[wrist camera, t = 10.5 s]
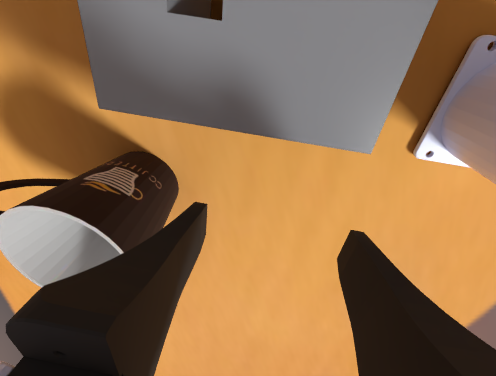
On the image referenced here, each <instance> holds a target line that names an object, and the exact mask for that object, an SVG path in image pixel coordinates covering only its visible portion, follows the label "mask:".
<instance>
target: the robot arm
mask: <svg viewBox="0 0 496 376" xmlns="http://www.w3.org/2000/svg"><path fill="white" fill-rule="evenodd" d="M491 42H493V46H492V48H491V49H490V50H488V49H487V47H488V45H489V44H490V43H491ZM429 151H431V153H430V154H429V155H426V153H427V152H429ZM413 154H414V156H415V157H416V158H418V159H423V160H429V161H435V162H440V163H446V164H452V165H458V166H464V167H470V168H472V169H474V170H475V171H477V172H478V173H480V174H481V175H483V176H484V177H486V178H487V179H489V180H490V181H492V182H493V183H495V184H496V36H493V35H481V36H479V37H477V38H476V39H475V40H474V41H473V42H472V44H471V46H470V47H469V49H468V51H467V53H466V55H465V57H464V59H463V60H462V62H461V64H460V66H459V68H458V70H457V71H456V73H455V75H454V77H453V79H452V81H451V83H450V84H449V86H448V88H447V90H446V92H445V94H444V96H443V97H442V99H441V101H440V103H439V105H438V107H437V109H436V110H435V112H434V114H433V116H432V118H431V120H430V122H429V123H428V125H427V127H426V129H425V131H424V133H423V135H422V136H421V138H420V140H419V142H418V144H417V146H416V147H415V149H414V152H413ZM206 221H207V204H204V203H199V202H195V203H193V204H192V205H191V206H190V207H189V208H187V209H186V210H185V211H184V212H183V213H182V214H180V215H179V216H178V217H177V218H176V219H174V220H173V221H172V222H170V223H169V224H168V225H167V226H165V227H164V228H163V229H161V230H160V231H158V232H157V233H156V234H154V235H153V236H151V237H150V238H148V239H147V240H145V241H144V242H142V243H140V244H139V245H137V246H135V247H134V248H132V249H130V250H128V251H126V252H124V253H122V254H120V255H118V256H116V257H114V258H113V259H111V260H108V261H106V262H104V263H102V264H100V265H97V266H95V267H93V268H90V269H88V270H85V271H83V272H80V273H78V274H75V275H72V276H70V277H67V278H64V279H61V280H58V281H56V282H53V283H50V284H47V285H44V286H43V287H42V288H41V289H40V290H39V291H38V292H37V293H36V294H35V295H33V296H32V297H31V299H30V300H29V301H28V302H27V303H26V304H25V305H24V306H23V307H22V308H21V309H20V310H19V311H18V312H17V313H16V314H15V315H14V316H13V317H12V318H11V319H10V320H9V321H8V323H7V324H6V333H7V335H8V337H9V338H10V340H11V341H12V342H13V344H14V345H15V346H16V347H17V349H18V350H19V351H20V352H21V353H22V355H23V356H24V357H23V358H22V359H21V360H20V362H19V363H18V364H17V365H16V367H14V366H12V365H10V364H8V363H5V362H2V361H0V376H154V374H155V370H156V367H157V364H158V361H159V357H160V354H161V351H162V348H163V345H164V342H165V339H166V336H167V333H168V330H169V327H170V324H171V321H172V318H173V315H174V312H175V309H176V306H177V303H178V301H179V298H180V296H181V293H182V291H183V289H184V286H185V284H186V282H187V280H188V278H189V275H190V273H191V271H192V269H193V267H194V265H195V262H196V260H197V258H198V256H199V254H200V251H201V248H202V245H203V242H204V239H205V235H206ZM337 262H338V272H339V279H340V283H341V287H342V291H343V295H344V299H345V303H346V307H347V311H348V315H349V318H350V322H351V327H352V332H353V337H354V344H355V350H356V357H357V365H358V373H359V376H496V350H495V349H494V348H492V347H491V346H490V345H488V344H486V343H485V342H484V341H482V340H481V339H479V338H478V337H477V336H475V335H474V334H473V333H471V332H470V331H469V330H467V329H466V328H465V327H463V326H462V325H461V324H459V323H458V322H457V321H456V320H454V319H453V318H452V317H450V316H449V315H448V314H447V313H445V312H444V311H443V310H442V309H440V308H439V307H438V306H437V305H436V304H435V303H433V302H432V301H431V300H430V299H429V298H428V297H427V296H425V295H424V294H423V293H422V292H421V291H420V290H419V289H418V288H417V287H416V286H415V285H413V284H412V283H411V282H410V281H409V280H408V279H407V278H406V277H405V276H404V275H403V274H402V273H401V272H400V271H399V270H398V269H397V268H396V267H395V266H394V264H393V263H392V262H391V261H390V260H389V259H388V258H387V257H386V256H385V255H384V254H383V253H382V252H381V250H380V249H379V248H378V247H377V246H376V245H375V244H374V243H373V242H372V241H371V240H370V238H369V237H368V236H367V235H366V234H365V233H364V232H360V231H354V230H351V231H350V233H349V235H348V237H347V239H346V241H345V243H344V245H343V247H342V249H341V251H340V253H339V256H338V258H337Z"/></svg>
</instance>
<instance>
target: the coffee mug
mask: <svg viewBox="0 0 496 376" xmlns="http://www.w3.org/2000/svg"><path fill="white" fill-rule="evenodd" d="M25 186H57V187H55V188H52V189H50V190H48V191H46V192H44V193H42V194H40V195H38V196H36V197H34V198H31V199H29V200H27V201H25V202H23V203H21V204H19V205H17V206H15V207H13V208H10V209H8V210H7V211H0V250H1V251H2V253H3V254H4V256H5V257H6V258H7V260H8V261H9V262H10V263H11V264H12V265H13V266H14V267H15V268H16V269H17V270H18V271H19V272H20V273H21V274H23V275H24V276H25V277H26V278H28V279H29V280H31V281H32V282H33V283H35V284H36V285H38V286H40V287H41V288H42V287H43V286H44V285H47V284H50V283H53V282H56V281H58V280H61V279H64V278H67V277H70V276H72V275H75V274H78V273H80V272H83V271H85V270H88V269H90V268H93V267H95V266H97V265H100V264H102V263H104V262H106V261H108V260H111V259H113V258H114V257H116V256H118V255H120V254H122V253H124V252H126V251H128V250H130V249H132V248H134V247H135V246H137V245H139V244H140V243H142V242H144V241H145V240H147V239H148V238H150V237H151V236H153V235H154V234H156V233H157V232H158V231H160V230H161V229H163V227H164V224H165V222H166V220H167V218H168V216H169V213H170V211H171V209H172V207H173V204H174V202H175V200H176V198H177V195H178V190H179V188H178V182H177V178H176V176H175V174H174V172H173V171H172V170H171V168H170V167H169V166H168V165H167V164H166V163H165V162H164V161H162V160H161V159H159V158H158V157H156V156H154V155H152V154H149V153H145V152H139V151H136V152H129V153H126V154H124V155H122V156H120V157H118V158H116V159H113V160H111V161H109V162H107V163H105V164H103V165H101V166H99V167H97V168H94V169H92V170H90V171H88V172H86V173H84V174H82V175H80V176H78V177H76V178H73V179H71V180H68V179H22V180H12V181H5V182H0V191H2V190H6V189H11V188H18V187H25Z"/></svg>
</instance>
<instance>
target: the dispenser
mask: <svg viewBox="0 0 496 376" xmlns="http://www.w3.org/2000/svg"><path fill="white" fill-rule="evenodd" d="M77 1H78V6H79V11H80V16H81V21H82V26H83V31H84V36H85V41H86V46H87V51H88V56H89V61H90V66H91V71H92V76H93V81H94V86H95V91H96V96H97V101H98V106H99V108H100V109H106V110H112V111H117V112H123V113H129V114H135V115H141V116H147V117H153V118H159V119H165V120H171V121H177V122H183V123H189V124H195V125H201V126H206V127H212V128H218V129H224V130H230V131H236V132H242V133H248V134H254V135H260V136H266V137H272V138H278V139H284V140H289V141H295V142H301V143H307V144H313V145H319V146H325V147H331V148H337V149H343V150H349V151H355V152H361V153H367V154H371V152H372V150H373V148H374V145H375V143H376V141H377V139H378V136H379V134H380V132H381V129H382V127H383V125H384V123H385V120H386V118H387V116H388V114H389V111H390V109H391V107H392V104H393V102H394V100H395V98H396V95H397V93H398V91H399V88H400V86H401V84H402V82H403V79H404V77H405V75H406V73H407V70H408V68H409V66H410V63H411V61H412V59H413V57H414V54H415V52H416V50H417V48H418V45H419V43H420V41H421V38H422V36H423V34H424V32H425V29H426V27H427V25H428V22H429V20H430V18H431V16H432V13H433V11H434V9H435V7H436V4H437V2H438V0H223V11H222V21H220V20H213V19H211V0H77Z"/></svg>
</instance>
